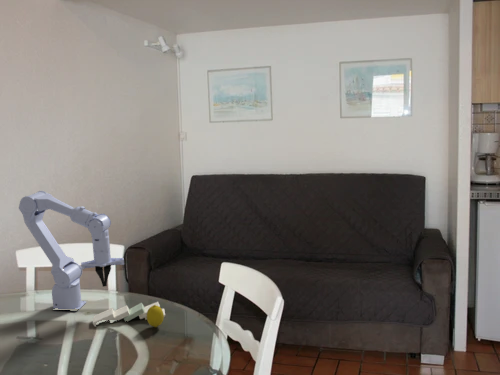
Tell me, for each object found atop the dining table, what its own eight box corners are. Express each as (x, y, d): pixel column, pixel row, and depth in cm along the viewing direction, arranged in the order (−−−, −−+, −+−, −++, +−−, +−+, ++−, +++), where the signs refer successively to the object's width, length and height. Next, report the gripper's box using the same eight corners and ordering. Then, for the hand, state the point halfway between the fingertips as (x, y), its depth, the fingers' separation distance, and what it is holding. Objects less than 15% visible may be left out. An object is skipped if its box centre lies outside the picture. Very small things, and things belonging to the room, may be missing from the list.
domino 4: (138, 315, 182) (158, 308, 183) (139, 308, 187) (158, 301, 188) (140, 319, 183) (159, 311, 183) (140, 312, 188) (159, 305, 188)
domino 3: (123, 318, 181) (142, 308, 182) (123, 312, 186) (141, 302, 187) (126, 322, 182) (144, 312, 183) (125, 315, 187) (143, 306, 187)
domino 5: (144, 317, 183) (165, 314, 185) (144, 310, 188) (164, 308, 189) (145, 321, 184) (165, 318, 185) (144, 315, 188) (164, 312, 190)
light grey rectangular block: (92, 322, 179) (112, 313, 180) (93, 316, 183) (112, 307, 184) (94, 326, 179) (114, 317, 180) (95, 320, 184) (114, 311, 185)
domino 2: (108, 320, 180) (127, 311, 181) (108, 313, 185) (126, 305, 186) (110, 324, 181) (129, 314, 182) (109, 317, 185) (128, 308, 187)
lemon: (148, 324, 180) (146, 302, 178) (164, 323, 181) (163, 301, 179) (146, 331, 175) (145, 309, 173) (163, 330, 175) (162, 308, 173)
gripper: (79, 255, 181) (83, 292, 184) (123, 250, 185) (126, 287, 188) (80, 248, 187) (83, 284, 190) (122, 244, 191) (125, 279, 194)
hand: (104, 285), depth 189 cm, fingers closed
